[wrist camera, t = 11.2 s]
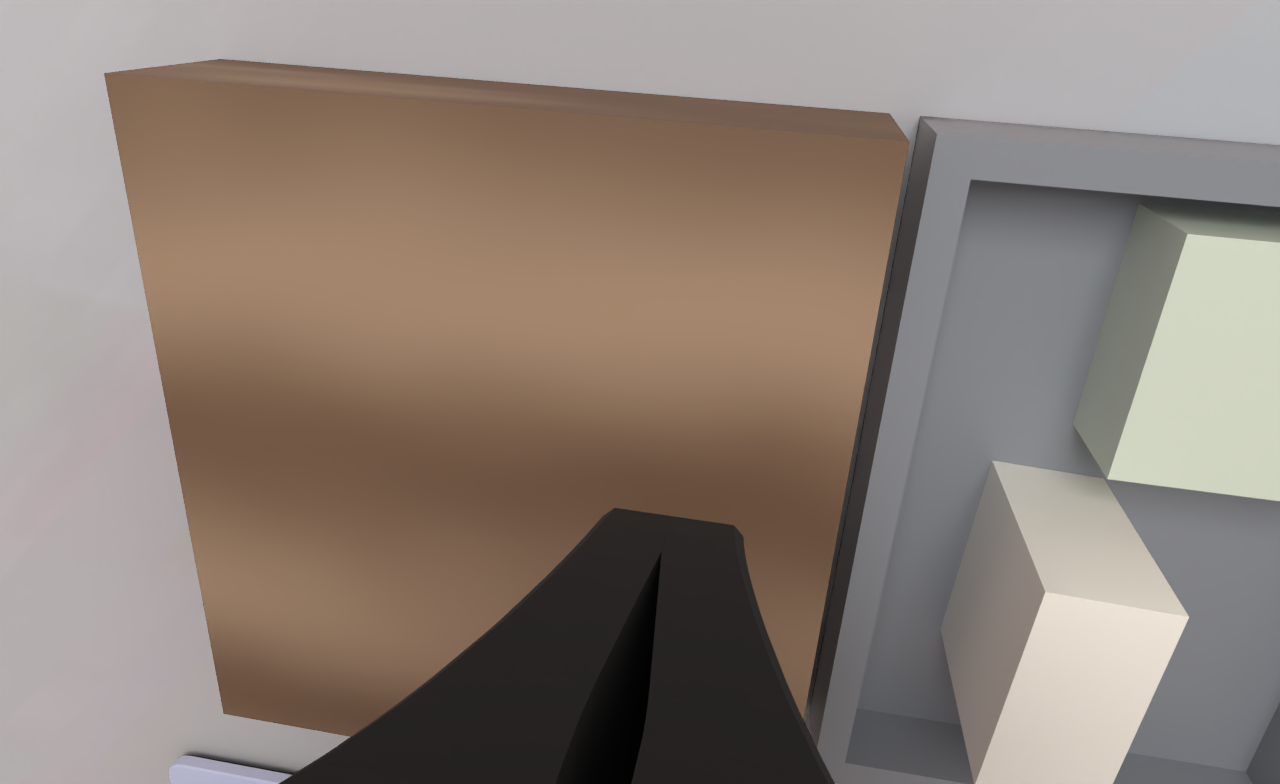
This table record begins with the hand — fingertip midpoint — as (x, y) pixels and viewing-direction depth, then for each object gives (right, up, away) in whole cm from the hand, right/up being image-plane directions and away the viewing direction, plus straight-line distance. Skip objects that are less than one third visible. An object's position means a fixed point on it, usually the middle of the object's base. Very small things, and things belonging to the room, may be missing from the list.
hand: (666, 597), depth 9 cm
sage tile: (+9, +2, +4) cm, 10 cm away
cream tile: (+6, -2, +6) cm, 9 cm away
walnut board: (-2, +2, +9) cm, 10 cm away
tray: (+9, 0, +8) cm, 12 cm away
